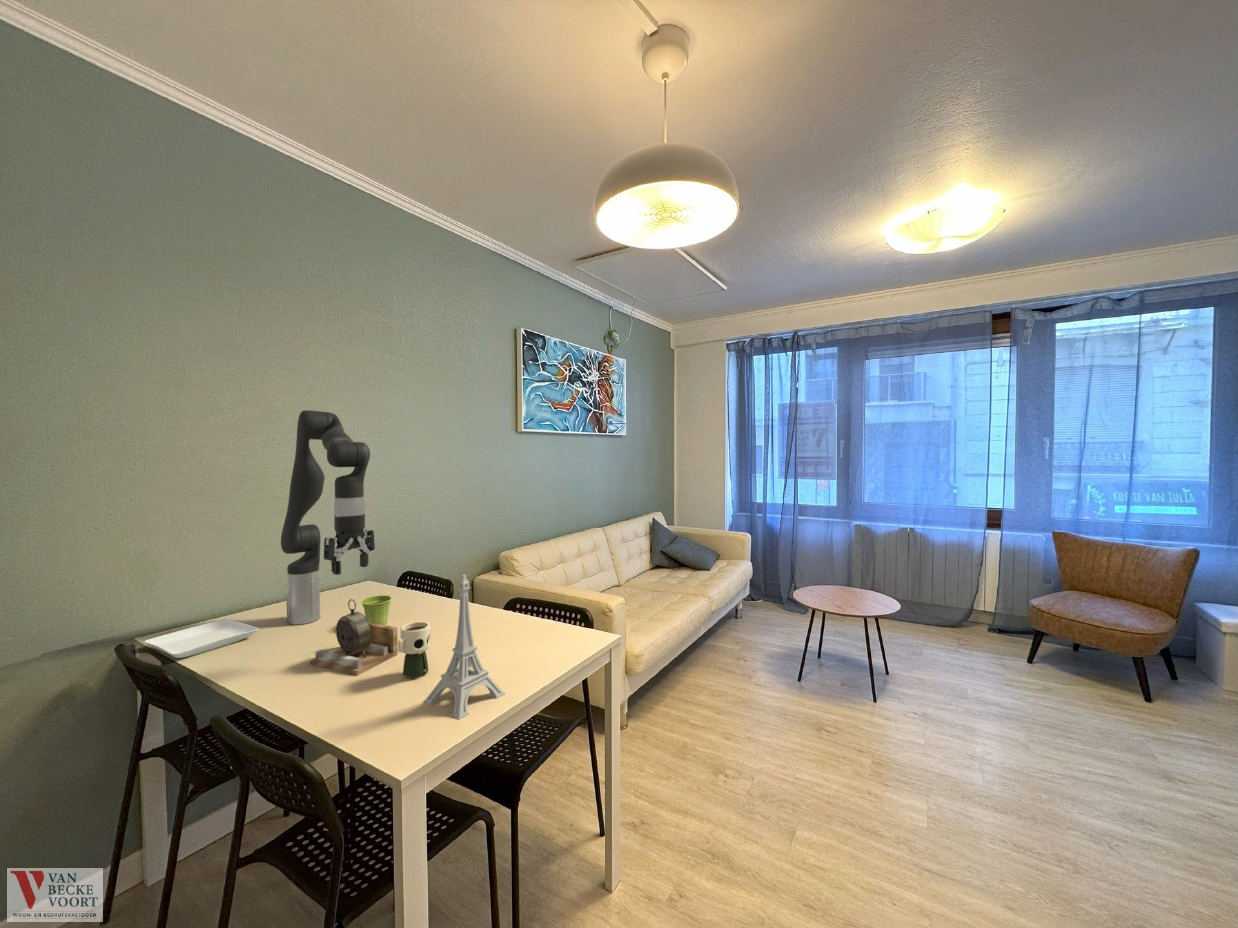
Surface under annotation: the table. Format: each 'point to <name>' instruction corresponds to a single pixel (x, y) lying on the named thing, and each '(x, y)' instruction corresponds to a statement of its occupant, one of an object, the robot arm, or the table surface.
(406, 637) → the character mug
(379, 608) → the plant pot
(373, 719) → the table surface
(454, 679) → the eiffel tower
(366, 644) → the alarm clock
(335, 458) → the robot arm
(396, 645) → the track board
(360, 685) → the table surface
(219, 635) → the salad plate
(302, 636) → the table surface
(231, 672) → the table surface
